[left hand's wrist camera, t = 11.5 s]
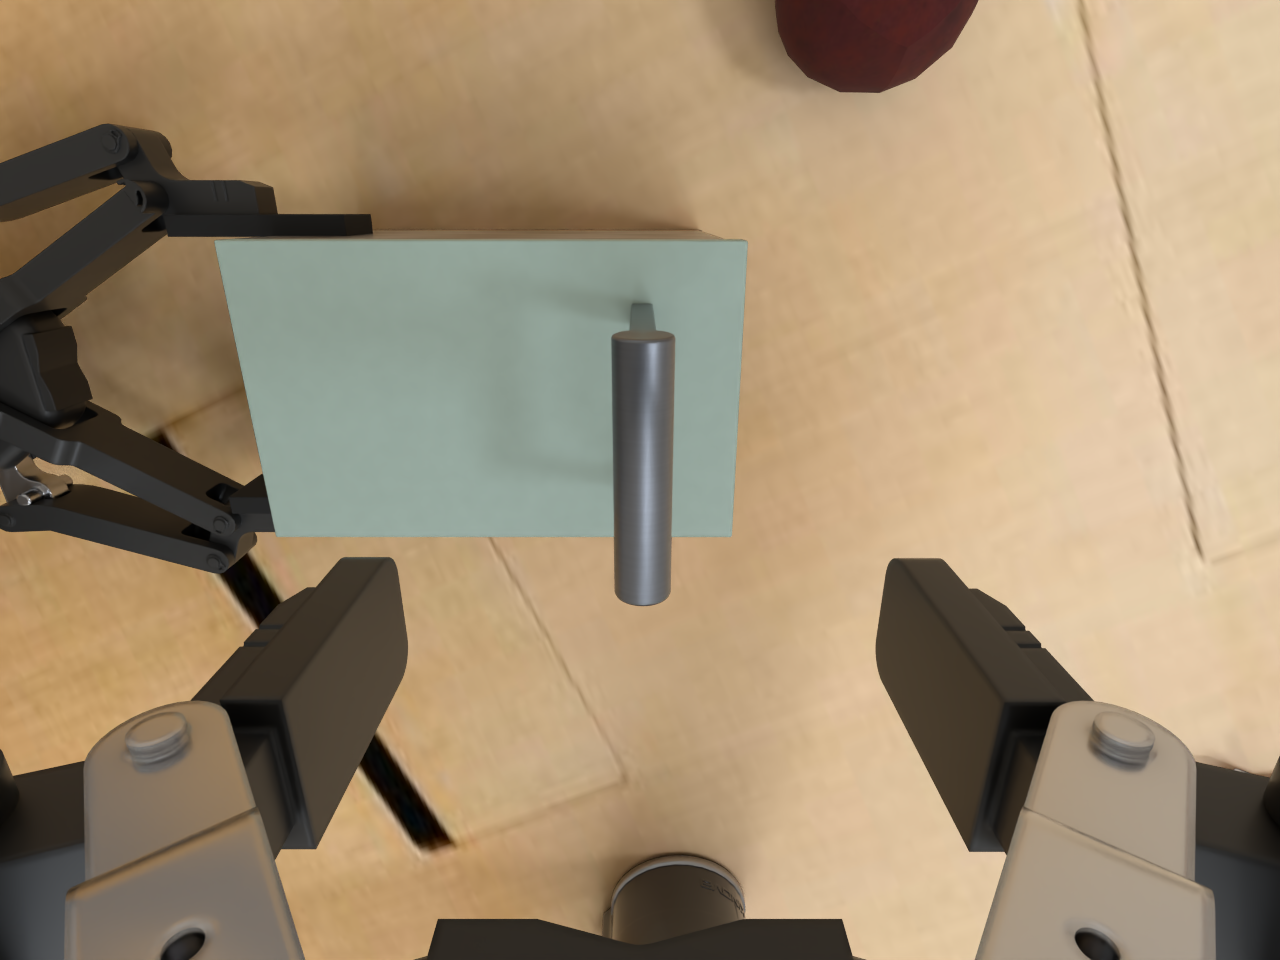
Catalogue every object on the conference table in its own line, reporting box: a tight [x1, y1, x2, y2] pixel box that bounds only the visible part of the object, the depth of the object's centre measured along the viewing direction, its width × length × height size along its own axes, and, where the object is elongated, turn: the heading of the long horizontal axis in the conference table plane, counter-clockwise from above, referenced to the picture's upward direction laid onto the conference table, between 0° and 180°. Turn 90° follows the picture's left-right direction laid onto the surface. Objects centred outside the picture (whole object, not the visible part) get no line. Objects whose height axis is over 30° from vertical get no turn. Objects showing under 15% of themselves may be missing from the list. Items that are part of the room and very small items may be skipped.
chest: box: [238, 230, 723, 239], centre depth 30 cm, size 16×10×11 cm, turn 90°
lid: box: [214, 239, 748, 606], centre depth 21 cm, size 17×10×9 cm, turn 90°
